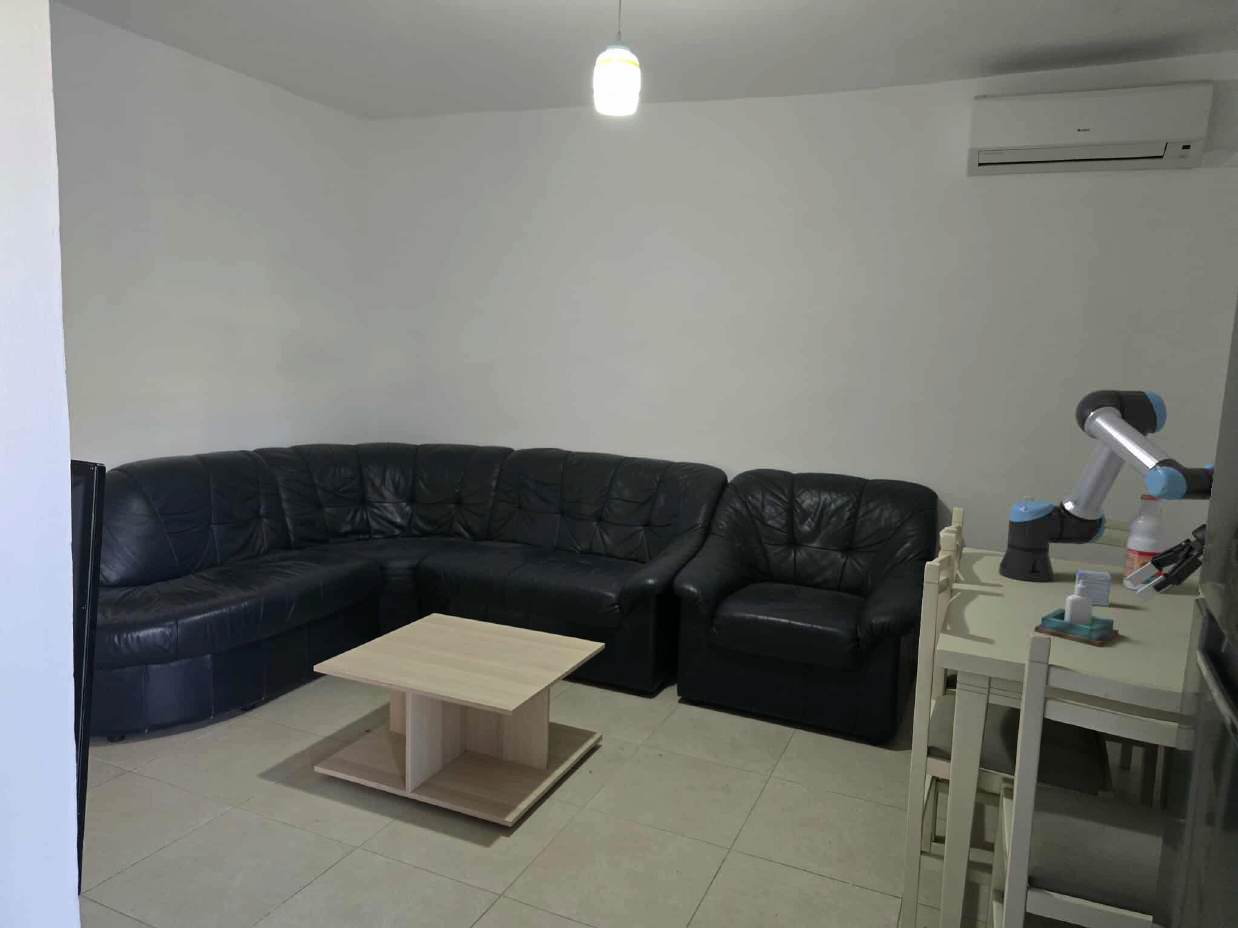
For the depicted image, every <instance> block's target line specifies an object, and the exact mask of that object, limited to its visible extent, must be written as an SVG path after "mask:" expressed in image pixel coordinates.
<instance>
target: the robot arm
mask: <svg viewBox="0 0 1238 928" xmlns="http://www.w3.org/2000/svg"><path fill="white" fill-rule="evenodd" d="M1166 407H1167V406H1166V404H1165V402H1164V399H1163V398H1162V397H1161V396H1160V394H1158V393H1157V392H1154V391H1148V390H1147V391H1146V390H1142V389H1138V390H1118V389H1117V390H1116V389H1115V390H1114V389H1100V390H1099V389H1098V390H1096V391H1091V392H1090V393H1088V394H1087V395H1085V396H1084V397H1082V399H1081V400H1080V401H1079V402H1078V404H1077V406H1076V409H1075V414H1074V415H1075V420H1076V423H1077V425H1078V426H1079V429H1080V430H1081V431H1082V432H1083V433H1085V434H1086V435H1087V436H1088V437H1089V438H1091V439H1095V440H1098V441H1097V443H1096V444H1095V447H1094V448H1093V451H1092V453H1091V455H1090V456H1089V459H1088V461H1087V463H1086V465H1085V466H1084V469H1083V471H1082V473H1081V474H1080V477H1079V479H1078V480H1077V482H1076V484H1075V486H1074V487H1073V489H1072V492H1071V493H1069V494H1066V495H1064V497H1063V498H1062V500H1061V501H1060V504H1059V505H1054V504H1053V502H1051V501H1048V500H1039V499H1038V500H1034V499H1033V500H1031V499H1030V500H1022V501H1018V502H1014V504H1012V505H1011V506H1010V511H1009V516H1008V519H1009V520H1008V533H1007V546H1006V550H1005V553H1004V555H1003V557H1002V558H1001V561H1000V563H999V567H998V568H999V569H998V573H999V574H1000V575H1001V576H1003V577H1006V578H1010V579H1014V580H1019V581H1027V582H1039V583H1040V582H1042V583H1043V582H1050V581H1053V580H1054V569H1053V565H1052V561H1051V557H1050V552H1049V551H1050V544H1065V545H1066V544H1068V545H1069V544H1070V545H1071V544H1072V545H1073V544H1074V545H1085V544H1092V543H1095V542H1097V541H1098V540H1100V538H1101V537H1102V536H1103V534H1104V533H1105V531H1106V525H1105V524H1106V523H1107V520H1106V516H1105V513H1104V509H1103V506H1102V505H1103V504H1104V502H1105V500H1106V498H1107V496H1108V495H1109V492H1110V490H1111V489H1112V487H1113V486H1114V483H1115V482H1116V480H1117V478H1118V476H1119V474H1120V472H1121V470H1122V469H1123V468H1124V466H1125V463H1126V464H1127V465H1129V466H1130V467H1131V468H1132V469H1134V471H1136V472H1137V473H1138V474H1139V475H1140V476H1142V477H1143V478H1144V482H1145V483H1144V484H1145V485H1144V486H1145V488H1146V490H1147V493H1148V495H1151V496H1152V497H1154V498H1159V499H1161V500H1167V501H1176V500H1177V501H1178V500H1181V501H1182V500H1185V501H1186V500H1187V501H1188V500H1199V501H1200V500H1201V501H1202V500H1203V501H1211V500H1210V497H1211V488H1212V483H1213V474H1214V464H1215V461H1213V462H1209V463H1208V464H1206V465H1205V466H1204V467H1187V466H1185V465H1183V464H1181V463H1180V462H1178V461H1177V460H1176V459H1175V458H1174V457H1172V456H1171V455H1169V453H1167V452H1165V451H1164V450H1163V449H1162V448H1161V447H1160V446H1158V445H1156V444H1155V442H1153V441H1152V440H1151V439H1150V438H1148V437H1147V436H1148V435H1149V434H1156V433H1159V432H1160V431H1162V429H1164V426H1165V425H1166V421H1167V418H1168V417H1167V416H1168V413H1167V408H1166ZM1207 524H1208V523H1207ZM1207 524H1206V523H1203V524H1201V525H1199V526H1198V527H1197V528H1195V529H1194V530H1192V531H1191V535H1192V536H1193V537H1194V538H1195V539H1194V540H1191V539H1190V538H1186V539H1185V540H1183V541H1181V542H1179V543H1178V544H1176V545H1174V546H1172V547H1169V548H1168V549H1165V551H1163V552H1161V553H1159V554H1157V555H1155V556H1153V557H1152V558H1151V559H1152V560H1151V561H1150V562H1151V563H1150V562H1149V563H1148V564H1146V565H1145V566H1143V567H1142V568H1140V569H1139V570H1137V571H1136V572H1134V573H1133V574H1131V575H1130V576H1128V577H1127V580H1128V581H1129V582H1130V583H1131V584H1132V585H1133V586H1134V587H1136V586H1137V585H1139V584H1140V583H1142V582H1143V581H1145V580H1147V579H1148V578H1150V577H1151V576H1153V575H1154V574H1156V573H1157V572H1159V571H1160V572H1161V571H1162V574H1161V575H1162V576H1160V577H1159V578H1157V579H1156V580H1154V581H1153V582H1151V583H1149V584H1148V585H1146V586H1145V587H1143V588H1142V589H1140V590H1139V591H1136V593H1137V595H1138V596H1139V597H1140V598H1141V599H1142V600H1143V601H1144V602H1148V601H1150V600H1151V599H1153V598H1154V597H1156V596H1157V595H1159V594H1160V593H1162V592H1163V591H1165V590H1167V589H1168V588H1170V587H1171V586H1180V585H1182V584H1183V582H1185V581H1186V580H1187V579H1188V578H1189V577H1190V576H1191V575H1193V574H1194V573H1195V572H1196V571H1197V570H1198V569H1199V568H1200V567H1201V566H1203V565H1202V558H1203V549H1204V545H1205V534H1206V525H1207ZM1172 565H1173V566H1172ZM1170 566H1172V567H1171V568H1170V569H1169V570H1168V571H1167V572H1163V570H1164V568H1166V567H1170ZM1156 568H1157V569H1158V570H1159V571H1158V570H1157V569H1156Z"/></svg>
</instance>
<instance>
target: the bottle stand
mask: <svg viewBox="0 0 1238 928" xmlns="http://www.w3.org/2000/svg"><path fill="white" fill-rule="evenodd" d="M1065 609H1066V608H1059V609H1057V610H1054V611H1052V612H1050V613H1048V614H1046V615H1044V616H1042V617H1041V621H1040V622H1041V623H1040V624H1038V625H1035V627H1034V632H1036V633H1041V634H1044V633H1045V635H1048V636H1053V637H1058V638H1061V639H1066V640H1069V641H1074V642H1078V643H1082V644H1086V645H1089V646H1094V647H1098V648H1099V647H1100V646H1102V645H1104V644H1105V643H1107V642H1109V641H1110V640H1112V639H1113V638H1115V637H1116V636H1117V637H1118V635H1119V630H1117V629H1114V623H1115V622H1114V619H1110V618H1104V617H1101V616H1096V615H1092V618H1091V627H1089V626H1084V625H1080V624H1076V623H1071V622H1067V621H1064V619H1065Z"/></svg>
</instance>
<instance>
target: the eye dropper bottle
mask: <svg viewBox="0 0 1238 928" xmlns="http://www.w3.org/2000/svg"><path fill="white" fill-rule="evenodd" d="M1086 590H1087V587H1086V586H1085V585H1084V583H1083V580H1080V581H1079V584H1078V585H1076V584H1074V593H1073V594H1071V595H1068V596H1067V597H1066V601H1065V608H1064V609H1065V619H1064V621H1067V622H1071V623H1076V624H1080V625H1084V626H1089V627H1091V618H1092V616H1093V606H1094V605H1093V600H1092V599H1091V598H1090V597H1088V596H1086Z"/></svg>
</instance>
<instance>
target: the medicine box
mask: <svg viewBox="0 0 1238 928" xmlns="http://www.w3.org/2000/svg"><path fill="white" fill-rule="evenodd" d="M1075 575H1076V577H1075V585H1078V584H1079V581H1080V580H1083V583H1084V585H1085V586H1086V587H1087V590H1086V596H1088V597H1090V598H1091V599H1092V600H1093V606H1099V607H1106V608H1107V607H1109V602H1110V593H1111V583H1112V576H1111V574H1110V573H1109V572H1104V571H1102V572H1101V571H1095V570H1094V571H1093V570H1087V569H1086V570H1083V569H1076V574H1075Z"/></svg>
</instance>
